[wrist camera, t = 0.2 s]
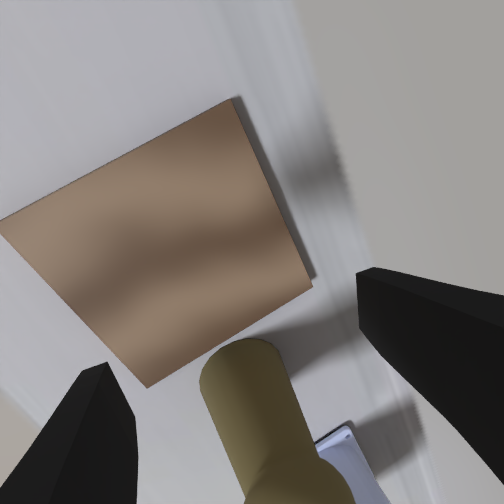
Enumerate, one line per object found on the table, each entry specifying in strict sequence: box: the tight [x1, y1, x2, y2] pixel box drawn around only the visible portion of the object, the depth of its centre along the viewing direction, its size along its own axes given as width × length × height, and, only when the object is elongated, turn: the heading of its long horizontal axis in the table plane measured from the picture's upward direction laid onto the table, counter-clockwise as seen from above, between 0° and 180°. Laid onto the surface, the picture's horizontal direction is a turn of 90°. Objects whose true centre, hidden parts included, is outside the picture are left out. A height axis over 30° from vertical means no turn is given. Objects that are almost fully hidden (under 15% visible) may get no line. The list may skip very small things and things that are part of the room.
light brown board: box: [0, 99, 313, 388], centre depth 18 cm, size 12×12×1 cm
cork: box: [199, 339, 356, 504], centre depth 18 cm, size 6×6×11 cm
